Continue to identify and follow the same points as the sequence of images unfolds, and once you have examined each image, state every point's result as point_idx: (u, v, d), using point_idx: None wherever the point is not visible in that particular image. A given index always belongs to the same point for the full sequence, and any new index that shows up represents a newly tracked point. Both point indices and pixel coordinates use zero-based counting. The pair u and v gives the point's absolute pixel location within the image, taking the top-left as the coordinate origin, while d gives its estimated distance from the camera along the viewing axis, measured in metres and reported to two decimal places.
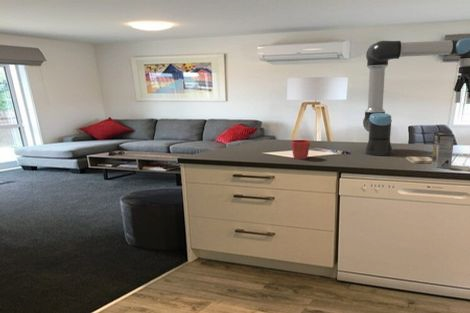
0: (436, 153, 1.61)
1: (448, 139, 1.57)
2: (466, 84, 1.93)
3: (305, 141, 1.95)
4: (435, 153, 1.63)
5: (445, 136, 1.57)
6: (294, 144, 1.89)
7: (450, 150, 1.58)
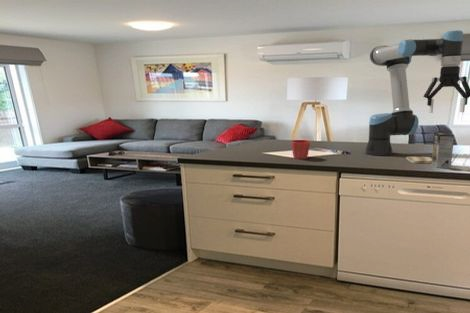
0: (436, 153, 1.61)
1: (448, 139, 1.57)
2: None
3: (305, 141, 1.95)
4: (435, 153, 1.63)
5: (445, 136, 1.57)
6: (294, 144, 1.89)
7: (450, 150, 1.58)
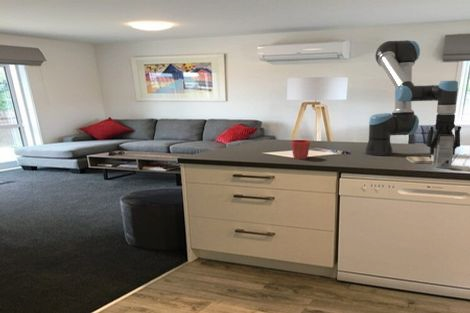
0: (436, 153, 1.61)
1: (448, 139, 1.57)
2: None
3: (305, 141, 1.95)
4: None
5: (445, 136, 1.57)
6: (294, 144, 1.89)
7: (450, 150, 1.58)
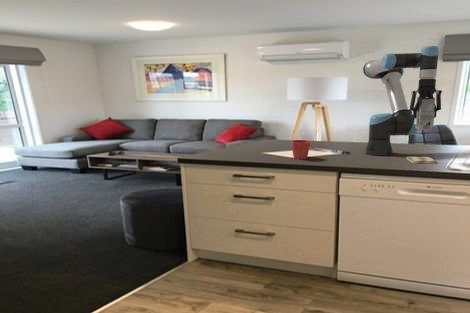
0: (419, 116, 1.70)
1: (429, 102, 1.66)
2: None
3: (305, 141, 1.95)
4: (418, 116, 1.72)
5: (427, 99, 1.66)
6: (294, 144, 1.89)
7: (431, 113, 1.67)
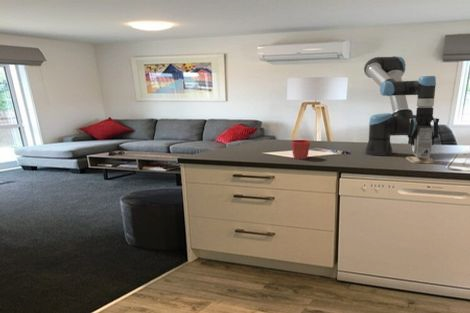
0: (416, 143, 1.73)
1: (427, 130, 1.69)
2: None
3: (305, 141, 1.95)
4: None
5: (424, 127, 1.69)
6: (294, 144, 1.89)
7: (429, 141, 1.70)
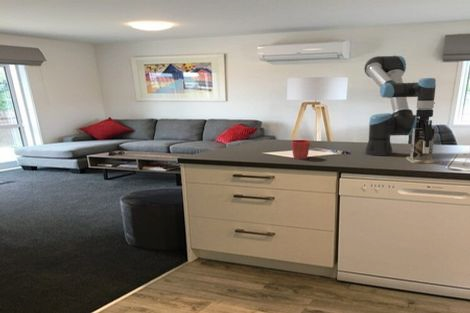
0: None
1: None
2: (423, 130, 1.70)
3: (305, 141, 1.95)
4: None
5: None
6: (294, 144, 1.89)
7: None
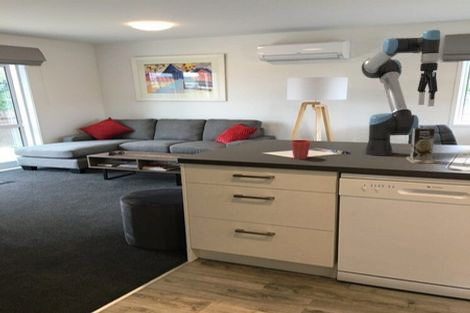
0: (429, 146, 1.71)
1: None
2: (428, 84, 1.66)
3: (305, 141, 1.95)
4: (426, 147, 1.72)
5: None
6: (294, 144, 1.89)
7: None
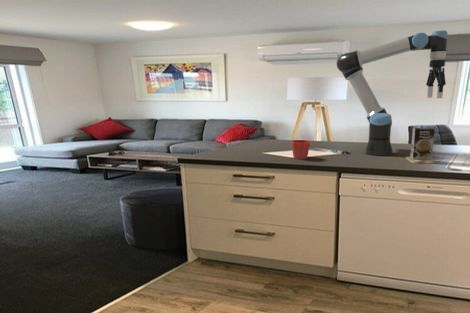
0: (429, 146, 1.71)
1: None
2: (437, 78, 1.87)
3: (305, 141, 1.95)
4: (426, 147, 1.72)
5: None
6: (294, 144, 1.89)
7: None
